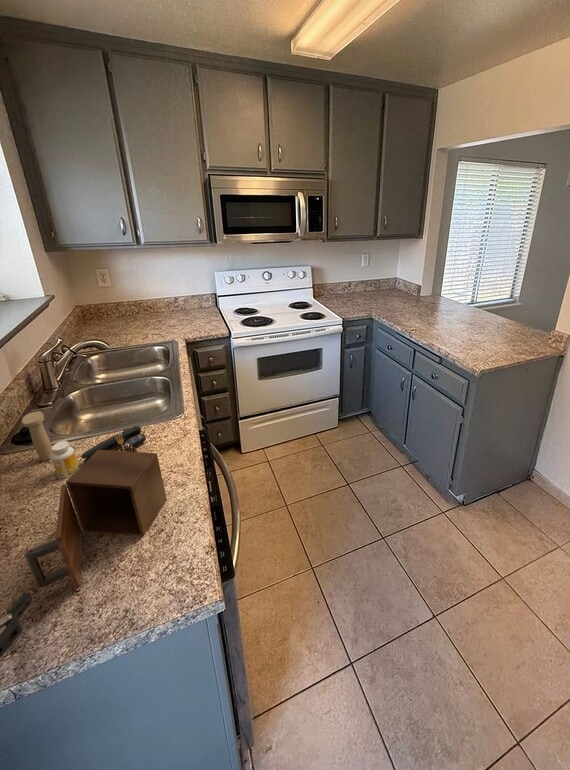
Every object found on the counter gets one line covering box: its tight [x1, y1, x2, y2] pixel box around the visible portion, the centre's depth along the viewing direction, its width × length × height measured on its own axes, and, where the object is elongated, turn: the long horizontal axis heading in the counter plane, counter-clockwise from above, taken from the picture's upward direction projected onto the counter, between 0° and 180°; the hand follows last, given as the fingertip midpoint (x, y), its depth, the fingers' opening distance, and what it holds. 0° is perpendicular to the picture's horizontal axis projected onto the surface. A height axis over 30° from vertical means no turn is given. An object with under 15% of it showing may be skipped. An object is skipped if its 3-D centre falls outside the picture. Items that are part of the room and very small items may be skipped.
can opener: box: [80, 425, 147, 464], centre depth 112 cm, size 18×7×6 cm, turn 134°
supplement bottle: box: [51, 440, 80, 479], centre depth 103 cm, size 5×5×10 cm
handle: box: [21, 410, 53, 462], centre depth 107 cm, size 5×6×15 cm
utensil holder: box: [114, 431, 138, 452], centre depth 103 cm, size 6×6×12 cm
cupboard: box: [65, 450, 168, 537], centre depth 88 cm, size 11×16×16 cm
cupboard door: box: [24, 483, 83, 590], centre depth 75 cm, size 6×16×15 cm, turn 31°
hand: (7, 593), depth 65 cm, fingers open, 8 cm apart
